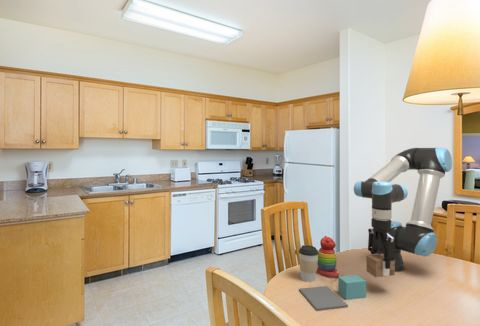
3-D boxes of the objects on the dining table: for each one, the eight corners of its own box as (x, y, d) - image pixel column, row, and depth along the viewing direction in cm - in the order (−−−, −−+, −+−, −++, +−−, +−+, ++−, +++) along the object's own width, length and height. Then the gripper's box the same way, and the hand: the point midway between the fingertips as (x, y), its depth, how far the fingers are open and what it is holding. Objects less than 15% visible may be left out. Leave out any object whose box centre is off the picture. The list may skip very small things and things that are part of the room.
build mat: (326, 287, 126) (326, 285, 126) (347, 307, 110) (347, 305, 110) (299, 290, 123) (299, 288, 123) (316, 310, 108) (316, 308, 108)
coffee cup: (320, 277, 136) (321, 246, 136) (314, 284, 129) (314, 251, 128) (302, 272, 141) (303, 242, 141) (295, 279, 134) (295, 247, 133)
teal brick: (356, 290, 124) (357, 274, 123) (365, 297, 118) (366, 281, 117) (338, 292, 122) (338, 276, 121) (346, 300, 116) (346, 283, 116)
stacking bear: (339, 278, 135) (340, 241, 134) (317, 276, 137) (317, 239, 136) (336, 269, 146) (337, 234, 145) (315, 267, 148) (316, 233, 147)
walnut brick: (384, 269, 126) (384, 253, 126) (394, 275, 121) (394, 258, 120) (366, 271, 124) (366, 255, 124) (375, 277, 119) (376, 260, 118)
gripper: (359, 213, 130) (358, 264, 131) (389, 225, 111) (388, 283, 112) (374, 212, 131) (373, 262, 133) (406, 223, 113) (405, 281, 114)
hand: (380, 272), depth 122 cm, fingers closed on walnut brick, 6 cm apart
